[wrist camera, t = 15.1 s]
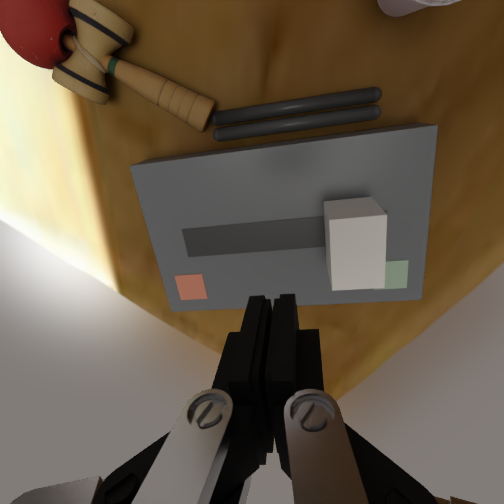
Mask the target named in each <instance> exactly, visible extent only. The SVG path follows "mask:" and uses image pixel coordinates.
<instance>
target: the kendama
mask: <svg viewBox="0 0 504 504" xmlns="http://www.w3.org/2000/svg"><path fill="white" fill-rule="evenodd" d="M0 31H1V33H2V35H3V37H4V38H5V40H6V42H7V43H8V44H9V45H10V47H11V48H12V49H13V50H14V51H15V52H16V53H17V54H18V55H20V56H21V57H22V58H23V59H25V60H26V61H28V62H30V63H31V64H33V65H36V66H38V67H41V68H46V69H53V74H52V79H53V80H54V81H55V82H57V83H59V84H60V85H62V86H64V87H65V88H67V89H69V90H71V91H73V92H74V93H76V94H78V95H81V96H83V97H84V98H87V99H89V100H91V101H94V102H96V103H99V104H102V105H105V104H106V103H107V101H108V98H109V93H108V90H107V87H106V83H105V73H110V74H111V75H112V76H113V77H115V78H117V79H118V80H119V81H121V82H122V83H124V84H125V85H126V86H128V87H129V88H131V89H132V90H134V91H135V92H137V93H138V94H140V95H141V96H143V97H144V98H146V99H148V100H149V101H151V102H152V103H154V104H156V105H158V106H160V107H161V108H163V109H164V110H166V111H168V112H170V113H171V114H173V115H174V116H176V117H178V118H179V119H181V120H182V121H184V122H186V123H188V124H189V125H190V126H192V127H193V128H195V129H196V130H198V131H200V132H201V133H203V132H204V131H205V129H206V127H207V125H208V123H209V120H210V116H211V114H212V113H213V111H214V108H215V101H213V100H211V99H209V98H207V97H204V96H202V95H198V94H197V93H195V92H193V91H191V90H188V89H186V88H184V87H182V86H179V85H178V84H176V83H174V82H172V81H170V80H169V81H168V80H167V79H166V78H164V77H162V76H160V75H157V74H155V73H153V72H151V71H149V70H146V69H144V68H141V67H139V66H136V65H134V64H131V63H129V62H126V61H123V60H121V59H118V58H115V57H113V56H111V54H112V53H113V52H114V51H116V50H117V49H118V48H120V47H122V46H124V45H127V44H130V43H131V40H132V36H133V33H134V29H133V28H132V26H130V25H129V24H128V23H127V22H126V21H124V20H123V19H122V18H120V17H119V16H118V15H116V14H115V13H113V12H112V11H110V10H109V9H107V8H106V7H104V6H103V5H101V4H100V3H98V2H96V1H95V0H70V2H68V1H67V0H0Z"/></svg>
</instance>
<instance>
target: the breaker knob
mask: <svg viewBox="0 0 504 504" xmlns="http://www.w3.org/2000/svg"><path fill="white" fill-rule="evenodd" d="M323 203H324V223H325V244H326V263H327V268H328V273H329V278H330V283H331V287H332V291H337V290H355V289H373V288H385V263H386V235H387V214H386V213H385V212H384V210H383V209H382V208H381V207H380V206H379V205H378V203H377V202H376V201H375V200H374V199H373V198H372V197H362V198H352V199H342V200H332V201H323Z"/></svg>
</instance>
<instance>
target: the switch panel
mask: <svg viewBox="0 0 504 504" xmlns="http://www.w3.org/2000/svg"><path fill="white" fill-rule="evenodd" d="M381 96H382V91H381V89H380V88H378V87H371V88H364V89H358V90H351V91H345V92H339V93H332V94H326V95H320V96H313V97H307V98H300V99H294V100H288V101H281V102H275V103H268V104H262V105H256V106H249V107H243V108H236V109H230V110H224V111H217V112H214V113H212V114H211V116H210V120H211V123H212V124H213V125H216V126H219V125H225V124H232V123H239V122H246V121H252V120H259V119H266V118H273V117H279V116H286V115H293V114H300V113H306V112H313V111H320V110H326V109H333V108H340V107H347V106H353V105H360V104H367V103H374V102H377V101H378V100H379V99H380V98H381ZM380 115H381V108H380V107H379V106H378V105H370V106H364V107H357V108H350V109H343V110H336V111H330V112H323V113H316V114H309V115H302V116H296V117H289V118H282V119H275V120H268V121H262V122H255V123H248V124H241V125H235V126H228V127H221V128H216V129H215V130H214V132H213V137H214V139H215V140H217V141H226V140H233V139H240V138H247V137H254V136H262V135H269V134H276V133H283V132H290V131H297V130H305V129H312V128H319V127H326V126H333V125H340V124H347V123H355V122H362V121H369V120H375V119H377V118H379V117H380ZM437 129H438V125H434V124H426V123H413V124H406V125H398V126H391V127H383V128H376V129H369V130H361V131H354V132H346V133H339V134H332V135H324V136H317V137H309V138H302V139H295V140H287V141H280V142H272V143H265V144H258V145H250V146H243V147H235V148H228V149H221V150H213V151H206V152H199V153H191V154H184V155H176V156H169V157H162V158H154V159H147V160H145V161H142V162H139V163H136V164H134V165H131V166H130V170H131V173H132V177H133V180H134V183H135V187H136V190H137V194H138V197H139V201H140V204H141V208H142V211H143V215H144V218H145V221H146V225H147V228H148V232H149V235H150V239H151V242H152V246H153V249H154V253H155V256H156V259H157V263H158V266H159V270H160V273H161V277H162V280H163V284H164V287H165V290H166V294H167V297H168V301H169V304H170V308H171V311H172V312H175V311H196V310H217V309H238V308H246V307H247V303H248V299H249V296H258V295H264V296H265V298H266V299H271V304H272V307H273V305H274V299H275V298H280V294H293V293H295V296H296V305H297V306H301V305H322V304H343V303H364V302H386V301H407V300H422V292H423V281H424V271H425V260H426V249H427V238H428V227H429V216H430V205H431V195H432V184H433V173H434V162H435V151H436V140H437ZM362 197H372V198H373V199H374V200H375V201H376V202H377V203H378V205H379V206H380V207H381V208H382V209H383V210H384V212H385V213H386V214H387V235H386V263H385V288H373V289H355V290H337V291H332V287H331V283H330V278H329V273H328V268H327V263H326V244H325V223H324V203H323V201H332V200H342V199H352V198H362Z"/></svg>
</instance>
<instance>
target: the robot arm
mask: <svg viewBox="0 0 504 504" xmlns="http://www.w3.org/2000/svg"><path fill="white" fill-rule="evenodd" d="M274 438H275V443H276V448H277V453H279V458H280V463H281V469H282V470H283V471H284V472H285V473H286V474H287V476H288V477H289V478H290V479H291V480H292V486H293V495H294V504H476V503H472V502H469V501H465V500H462V499H458V498H455V497H451V496H450V501H449V500H445V499H442V498H438V497H435V496H433V495H432V494H431V493H430V492H429V491H428V490H427V489H426V488H425V487H424V486H422V485H421V484H420V483H419V482H418V481H416V480H415V479H414V478H413V477H411V476H410V475H409V474H408V473H406V472H405V471H404V470H403V469H402V468H400V467H399V466H398V465H397V464H395V463H394V462H393V461H392V460H390V459H389V458H388V457H387V456H385V455H384V454H383V453H381V452H380V451H379V450H378V449H377V448H375V447H374V446H373V445H372V444H370V443H369V442H368V441H367V440H365V439H364V438H363V437H362V436H360V435H359V434H358V433H357V432H355V431H354V430H353V429H352V428H351V427H349V426H348V425H347V424H345V423H344V421H343V418H342V415H341V412H340V409H339V406H338V404H337V402H336V401H335V400H334V399H333V398H332V397H331V396H330V395H329V394H327V393H325V392H324V385H323V373H322V361H321V350H320V338H319V329H305V330H299V322H298V313H297V305H296V296H295V293H293V294H280V298H275V299H274V305H273V311H272V304H271V299H266V298H265V296H264V295H258V296H249V299H248V303H247V307H246V311H245V315H244V318H243V322H242V326H241V330H240V332H230V333H229V334H228V336H227V340H226V343H225V346H224V349H223V353H222V356H221V359H220V363H219V366H218V369H217V372H216V375H215V379H214V382H213V385H212V388H211V389H208V390H204V391H201V392H200V393H197V394H196V395H194V396H193V397H192V398H191V399H189V400H188V402H187V403H186V405H185V406H184V408H183V409H182V411H181V413H180V415H179V417H178V419H177V421H176V423H175V424H174V426H173V428H172V430H171V431H170V432H169V433H167V434H166V435H164V436H163V437H161V438H160V439H158V440H157V441H156V442H154V443H153V444H151V445H150V446H148V447H147V448H146V449H144V450H143V451H141V452H140V453H139V454H137V455H136V456H134V457H133V458H132V459H130V460H129V461H127V462H126V463H124V464H123V465H122V466H120V467H119V468H117V469H116V470H115V471H113V472H112V473H111V474H110V475H109V476H108V477H107V478H106V479H101V477H100V476H96V477H91V478H86V479H82V480H77V481H72V482H67V483H63V484H57V485H53V486H48V487H43V488H38V489H34V490H31V491H28V492H26V493H24V494H22V495H21V496H19V497H18V498H16V499H15V500H13V502H12V503H10V504H245V503H246V499H247V496H248V492H249V488H250V482H251V475H252V473H254V472H255V471H256V470H257V469H258V468H259V465H265V464H266V456H267V453H272V452H273V445H274Z"/></svg>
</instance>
